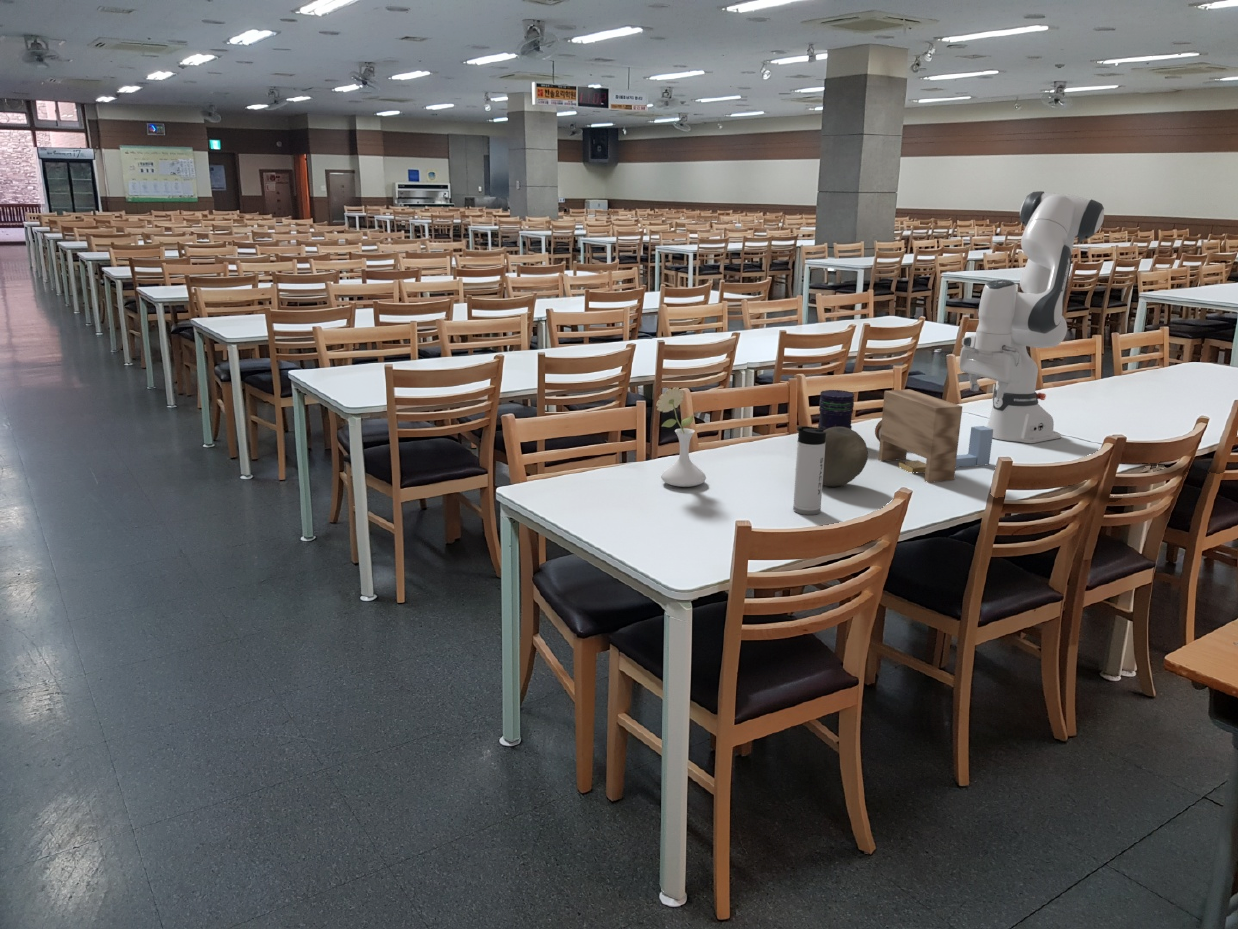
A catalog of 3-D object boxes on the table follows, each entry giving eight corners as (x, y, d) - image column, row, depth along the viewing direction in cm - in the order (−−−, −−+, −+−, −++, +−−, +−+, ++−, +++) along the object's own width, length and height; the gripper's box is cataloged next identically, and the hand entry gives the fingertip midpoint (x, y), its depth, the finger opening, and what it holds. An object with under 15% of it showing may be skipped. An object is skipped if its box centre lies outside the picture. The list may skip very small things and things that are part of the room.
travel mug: (788, 506, 218) (793, 424, 212) (816, 506, 218) (821, 423, 212) (795, 515, 212) (801, 430, 206) (823, 515, 212) (830, 430, 206)
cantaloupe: (818, 495, 226) (823, 435, 222) (799, 478, 239) (802, 422, 235) (873, 493, 228) (878, 434, 224) (850, 476, 241) (855, 420, 237)
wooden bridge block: (903, 457, 259) (910, 389, 254) (955, 479, 239) (963, 406, 234) (878, 460, 257) (884, 390, 251) (927, 482, 237) (935, 408, 231)
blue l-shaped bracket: (979, 460, 257) (983, 425, 254) (988, 464, 253) (993, 429, 250) (932, 465, 252) (935, 429, 249) (941, 469, 248) (945, 433, 245)
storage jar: (848, 448, 268) (853, 398, 264) (814, 445, 271) (818, 395, 267) (852, 440, 277) (856, 391, 273) (818, 437, 280) (822, 388, 276)
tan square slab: (917, 467, 252) (917, 460, 251) (931, 473, 246) (931, 466, 246) (898, 469, 250) (899, 462, 249) (912, 475, 244) (912, 468, 244)
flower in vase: (698, 476, 241) (701, 381, 234) (711, 489, 230) (715, 390, 223) (649, 478, 238) (651, 383, 231) (660, 492, 227) (663, 392, 220)
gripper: (1030, 348, 237) (1023, 401, 240) (976, 337, 255) (970, 386, 259) (1010, 349, 235) (1003, 402, 238) (957, 337, 253) (952, 387, 257)
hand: (986, 394), depth 249 cm, fingers open, 8 cm apart
